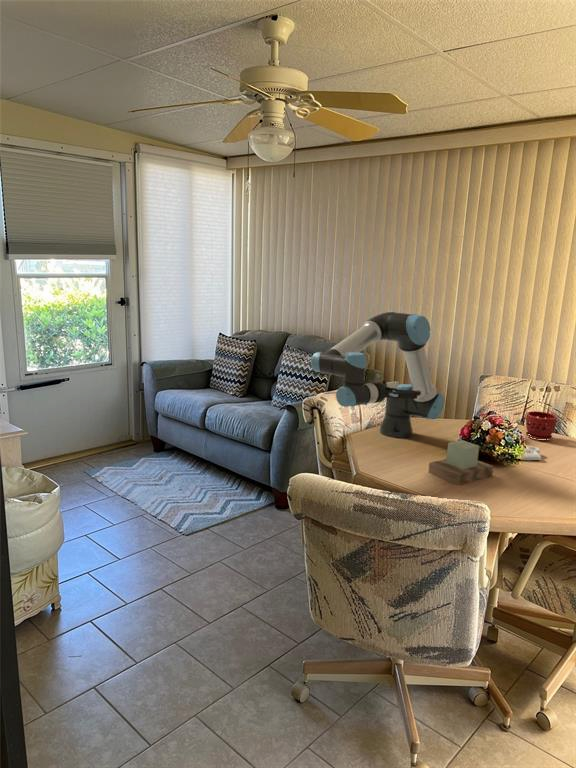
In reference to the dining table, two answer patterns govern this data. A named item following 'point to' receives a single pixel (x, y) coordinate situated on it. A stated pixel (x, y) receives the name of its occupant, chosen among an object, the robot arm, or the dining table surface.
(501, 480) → the dining table surface
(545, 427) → the plant pot
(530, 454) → the white brass knuckles
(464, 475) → the block
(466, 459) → the green block
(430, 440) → the dining table surface
